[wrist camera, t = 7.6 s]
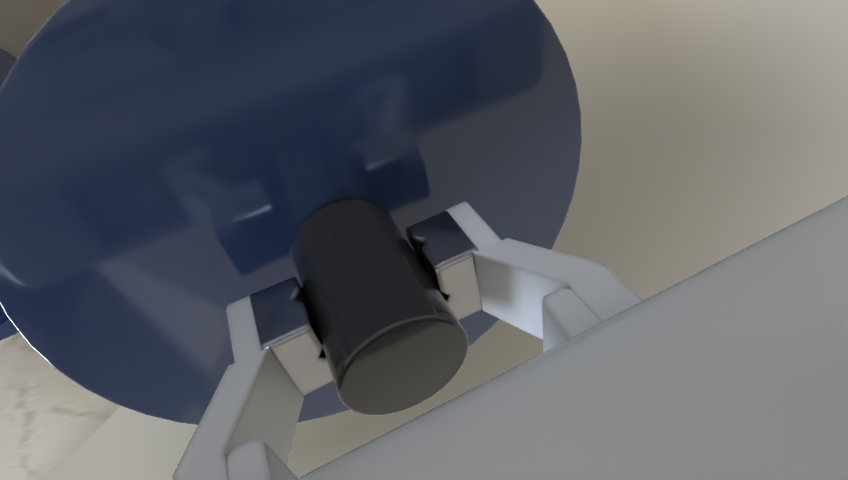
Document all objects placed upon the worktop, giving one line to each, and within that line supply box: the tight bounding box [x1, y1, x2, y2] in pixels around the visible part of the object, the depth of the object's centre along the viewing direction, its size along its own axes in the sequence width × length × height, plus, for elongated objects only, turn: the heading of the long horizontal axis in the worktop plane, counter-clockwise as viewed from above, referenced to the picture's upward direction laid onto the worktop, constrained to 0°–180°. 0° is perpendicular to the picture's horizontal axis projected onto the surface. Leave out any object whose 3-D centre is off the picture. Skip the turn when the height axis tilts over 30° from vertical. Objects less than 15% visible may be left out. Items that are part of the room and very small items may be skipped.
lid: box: [0, 0, 582, 425], centre depth 11 cm, size 14×14×5 cm
